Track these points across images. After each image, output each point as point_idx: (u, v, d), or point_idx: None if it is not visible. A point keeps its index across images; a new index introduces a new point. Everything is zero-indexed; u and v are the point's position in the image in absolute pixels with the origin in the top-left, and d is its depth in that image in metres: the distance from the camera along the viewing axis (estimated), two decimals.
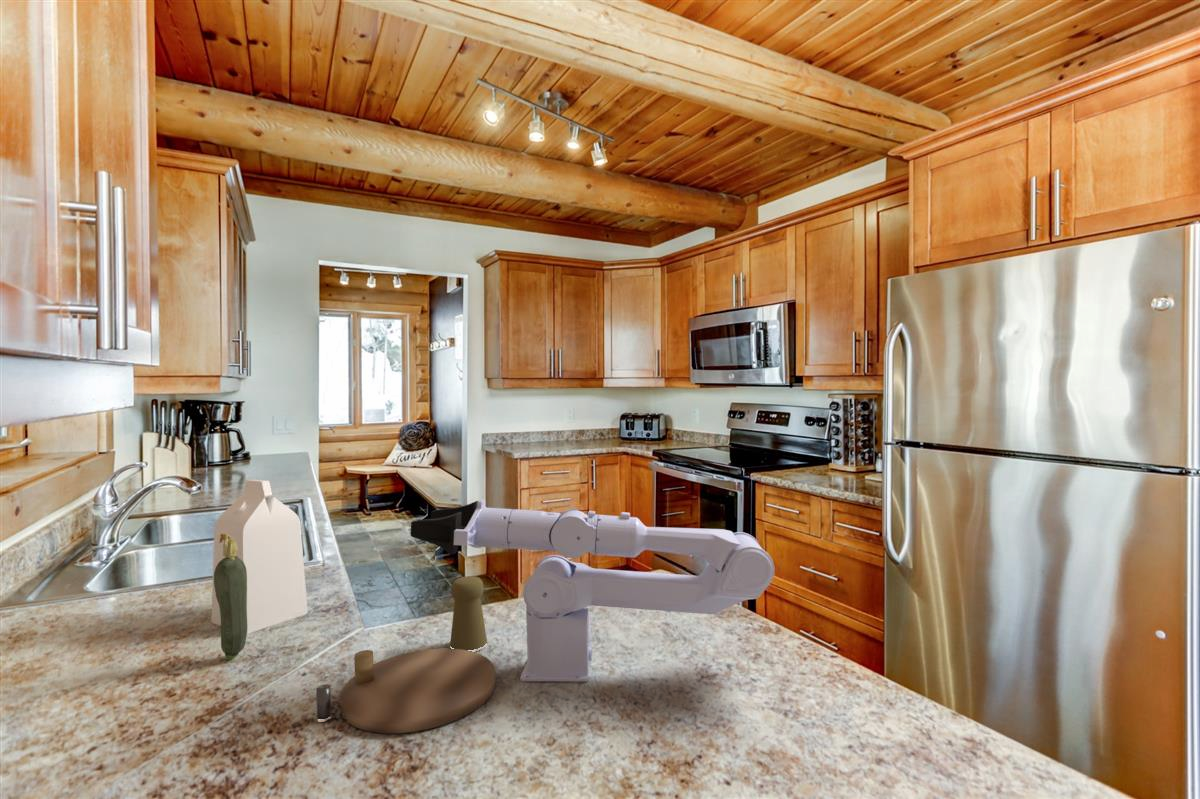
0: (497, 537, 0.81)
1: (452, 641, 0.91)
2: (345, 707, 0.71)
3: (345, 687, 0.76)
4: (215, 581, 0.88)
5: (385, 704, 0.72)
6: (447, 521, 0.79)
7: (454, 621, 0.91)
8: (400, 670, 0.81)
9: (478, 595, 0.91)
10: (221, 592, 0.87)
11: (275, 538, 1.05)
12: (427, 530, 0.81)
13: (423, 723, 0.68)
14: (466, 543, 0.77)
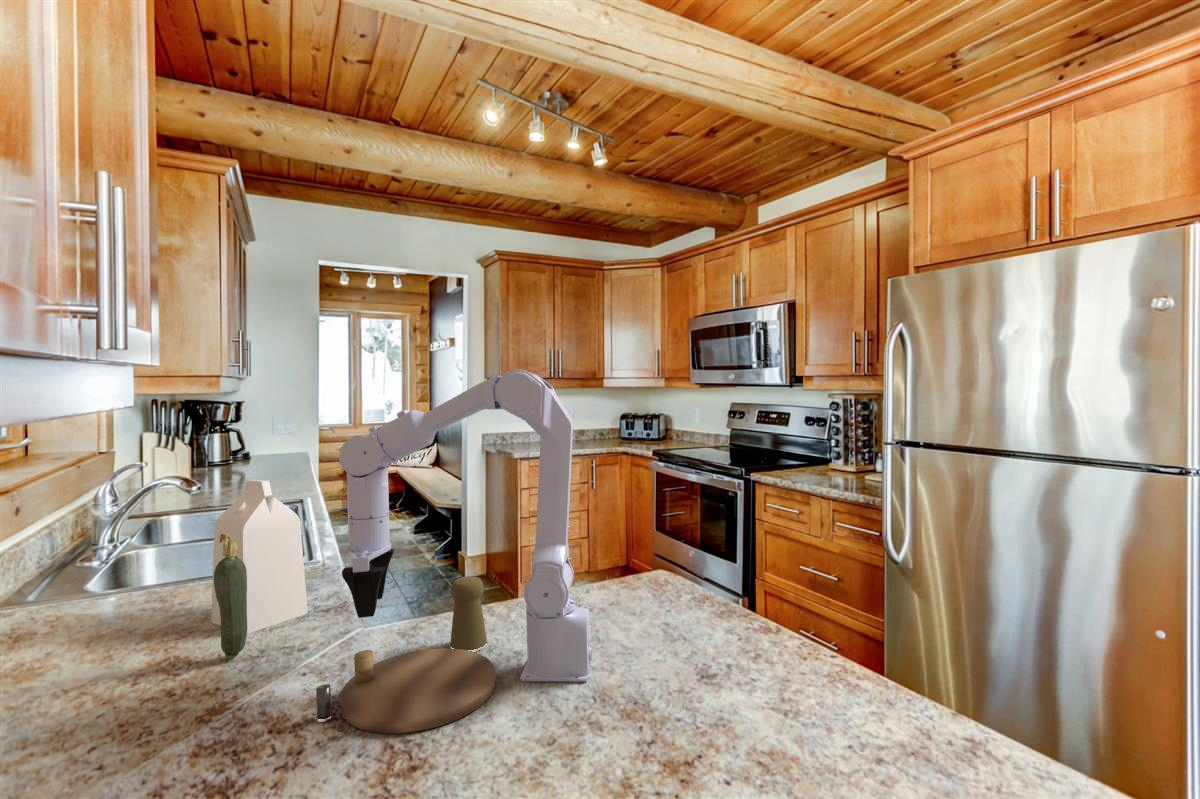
0: (370, 528, 0.82)
1: (452, 641, 0.91)
2: (345, 707, 0.71)
3: (345, 687, 0.76)
4: (215, 581, 0.88)
5: (385, 704, 0.72)
6: (349, 580, 0.79)
7: (454, 621, 0.91)
8: (400, 670, 0.81)
9: (478, 595, 0.91)
10: (221, 592, 0.87)
11: (275, 538, 1.05)
12: (365, 599, 0.81)
13: (423, 723, 0.68)
14: (365, 558, 0.78)
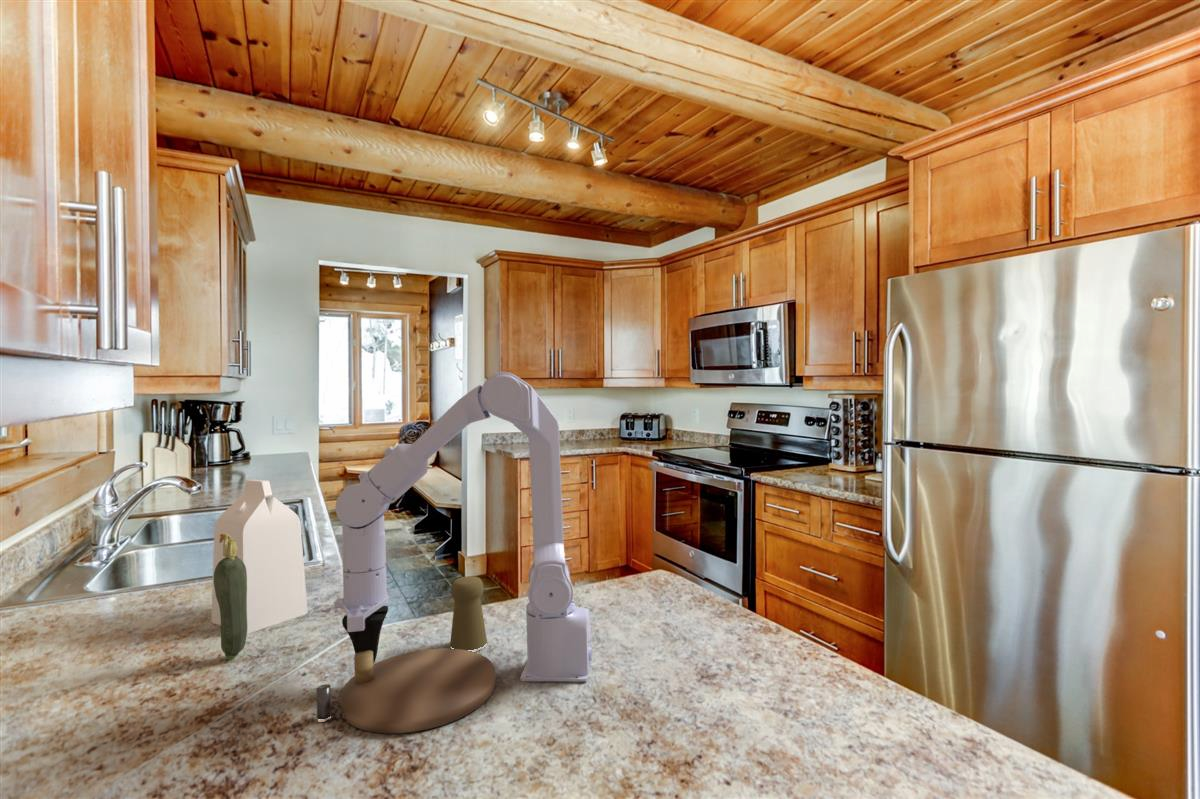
0: (366, 582, 0.78)
1: (452, 641, 0.91)
2: (345, 707, 0.71)
3: (345, 687, 0.76)
4: (215, 581, 0.87)
5: (385, 704, 0.72)
6: None
7: (454, 621, 0.91)
8: (400, 670, 0.81)
9: (478, 595, 0.91)
10: (221, 592, 0.87)
11: (275, 538, 1.05)
12: (365, 647, 0.80)
13: (423, 723, 0.68)
14: (360, 617, 0.74)
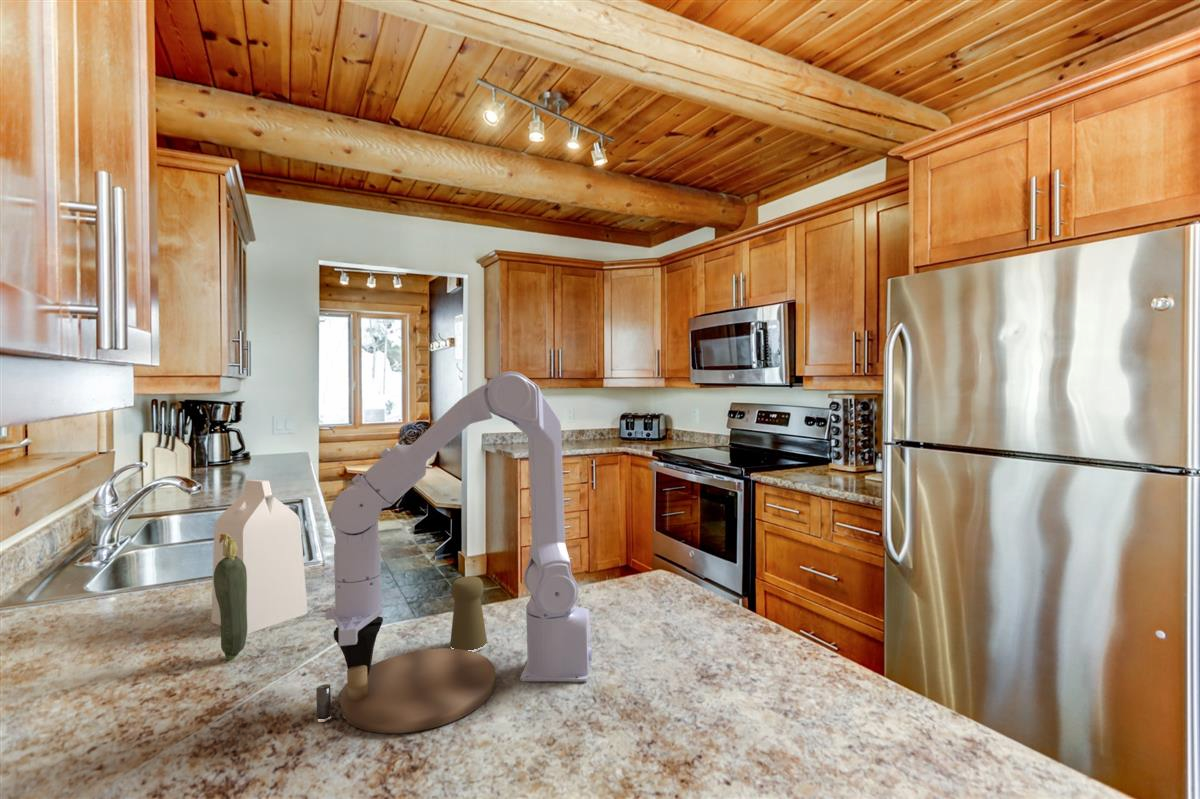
0: (359, 592, 0.74)
1: (452, 641, 0.91)
2: (375, 719, 0.68)
3: (347, 707, 0.71)
4: (215, 581, 0.87)
5: (415, 704, 0.71)
6: None
7: (454, 621, 0.91)
8: (386, 679, 0.78)
9: (478, 595, 0.91)
10: (221, 592, 0.87)
11: (275, 538, 1.05)
12: (358, 661, 0.75)
13: (469, 707, 0.72)
14: (353, 630, 0.69)
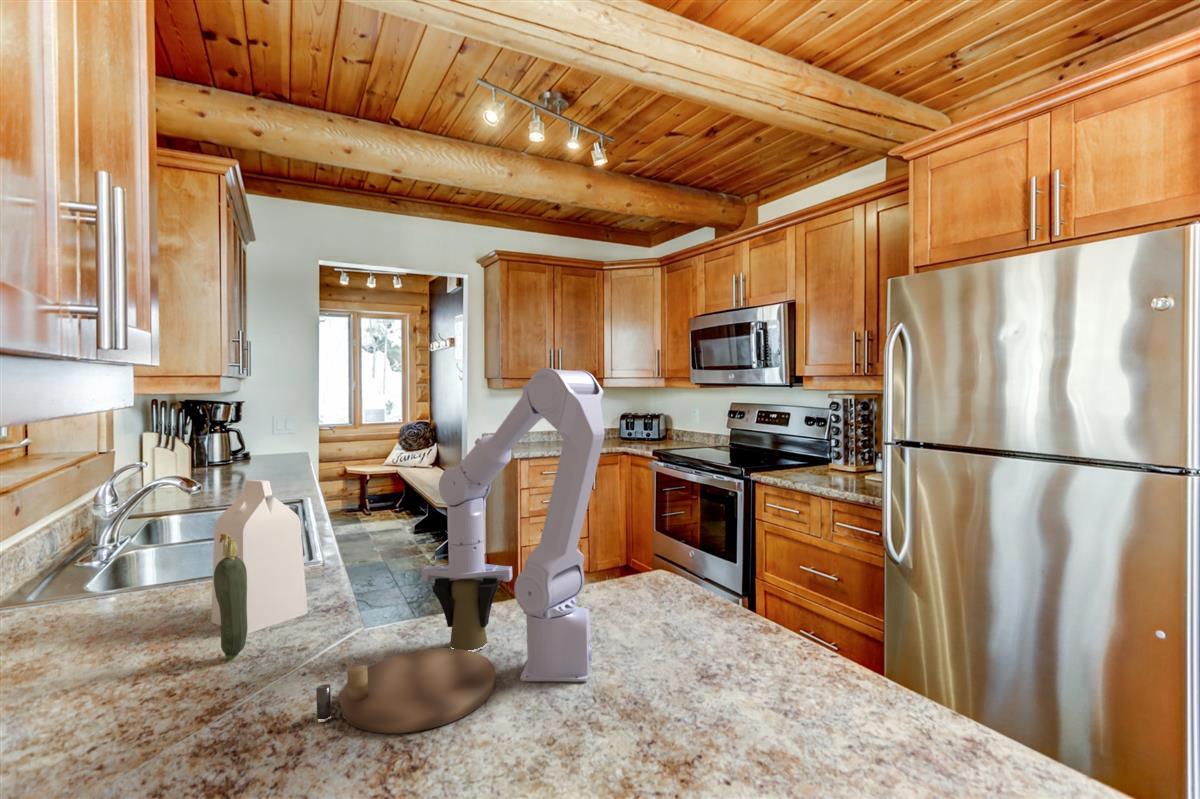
0: (448, 550, 0.92)
1: (452, 641, 0.91)
2: (376, 719, 0.68)
3: (347, 707, 0.71)
4: (215, 581, 0.88)
5: (416, 704, 0.71)
6: None
7: (454, 621, 0.91)
8: (386, 679, 0.78)
9: (478, 595, 0.91)
10: (221, 592, 0.87)
11: (275, 538, 1.05)
12: None
13: (469, 707, 0.72)
14: (422, 570, 0.93)
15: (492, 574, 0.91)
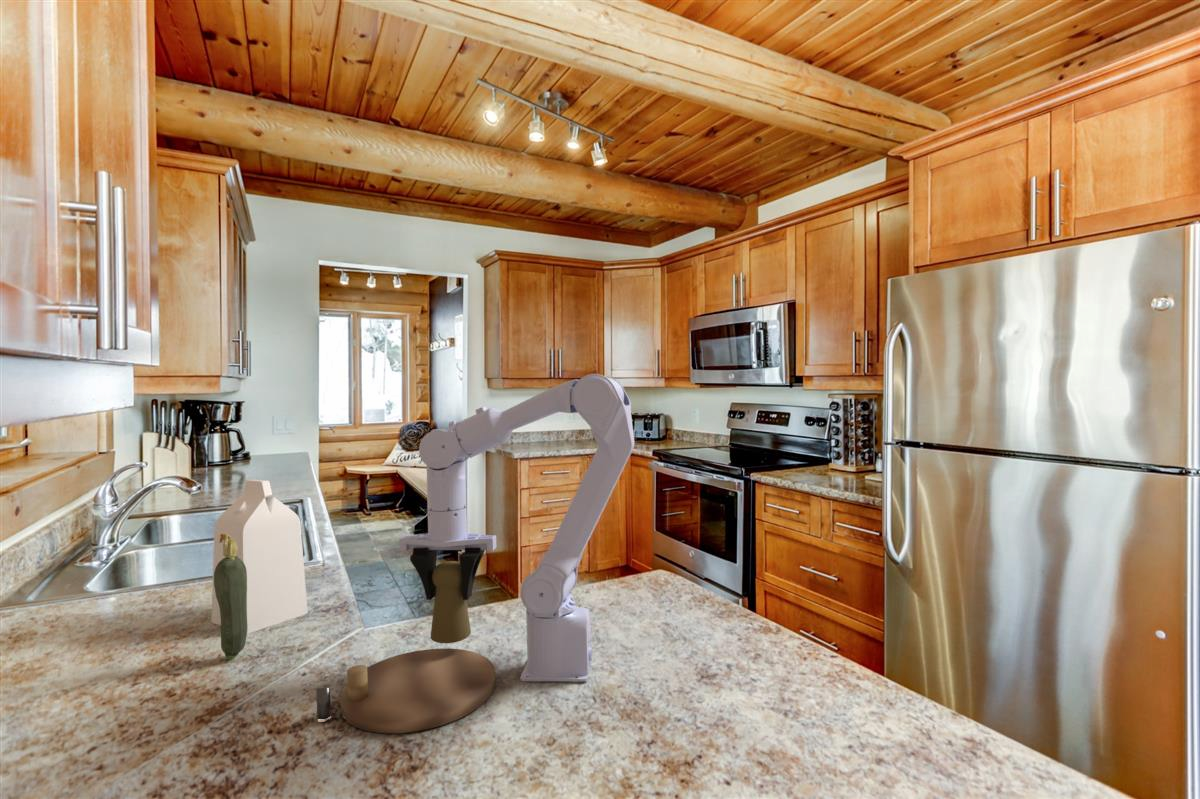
0: None
1: (432, 629, 0.86)
2: (376, 719, 0.68)
3: (347, 707, 0.71)
4: (215, 581, 0.87)
5: (416, 704, 0.71)
6: None
7: (435, 608, 0.86)
8: (386, 679, 0.78)
9: (460, 582, 0.85)
10: (221, 592, 0.87)
11: (275, 538, 1.05)
12: None
13: (469, 707, 0.72)
14: (400, 539, 0.87)
15: (474, 543, 0.85)
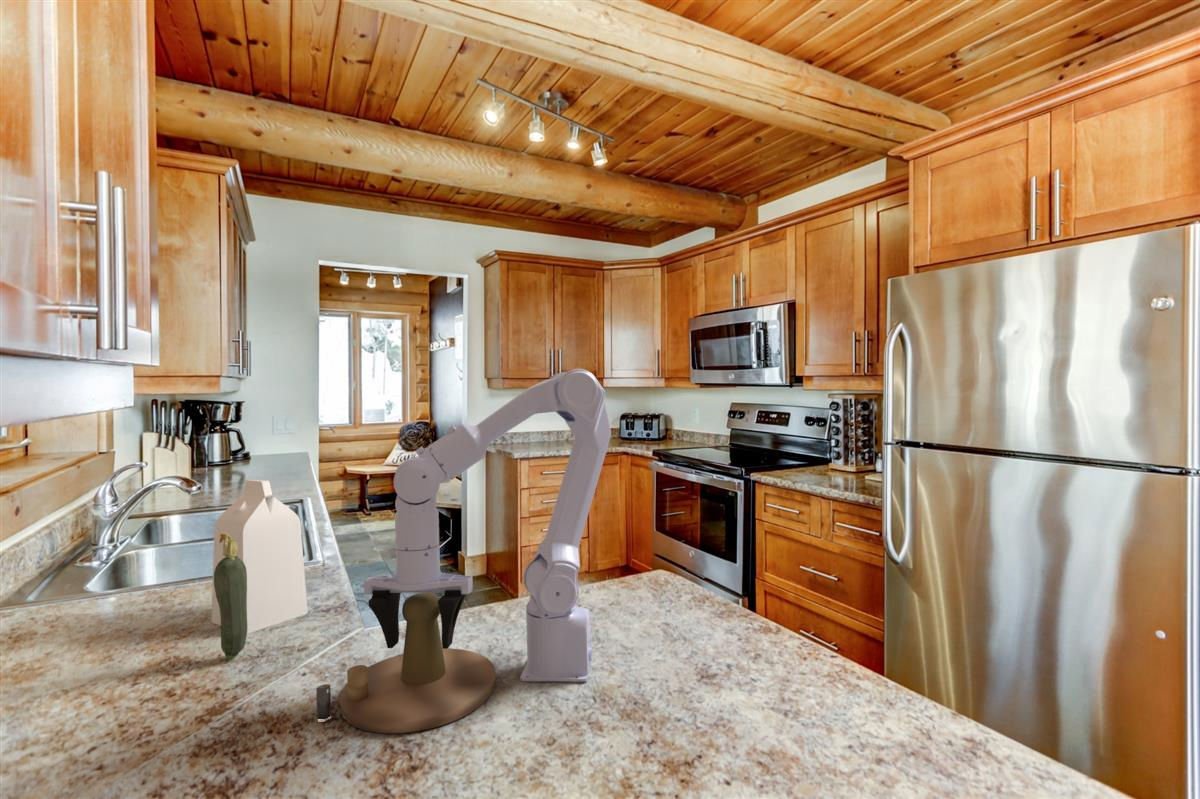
0: None
1: (403, 669, 0.78)
2: (376, 719, 0.68)
3: (347, 707, 0.71)
4: (215, 581, 0.88)
5: (416, 704, 0.71)
6: None
7: (405, 646, 0.78)
8: (386, 679, 0.78)
9: (433, 615, 0.78)
10: (221, 592, 0.87)
11: (275, 538, 1.05)
12: None
13: (469, 707, 0.72)
14: None
15: (447, 585, 0.76)
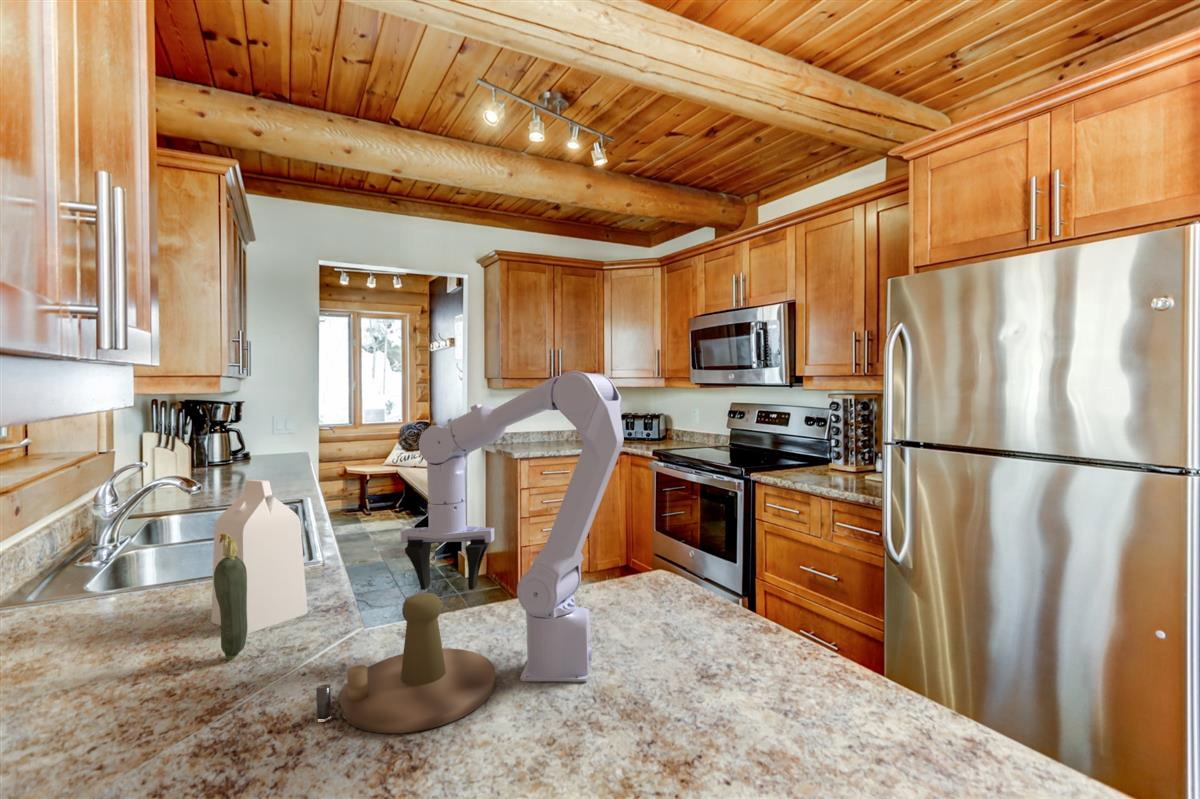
0: (428, 511, 0.89)
1: (403, 669, 0.78)
2: (376, 719, 0.68)
3: (347, 707, 0.71)
4: (215, 581, 0.88)
5: (416, 704, 0.71)
6: None
7: (405, 646, 0.78)
8: (386, 679, 0.78)
9: (433, 615, 0.78)
10: (221, 592, 0.87)
11: (275, 538, 1.05)
12: None
13: (469, 707, 0.72)
14: (401, 531, 0.90)
15: (473, 535, 0.88)
